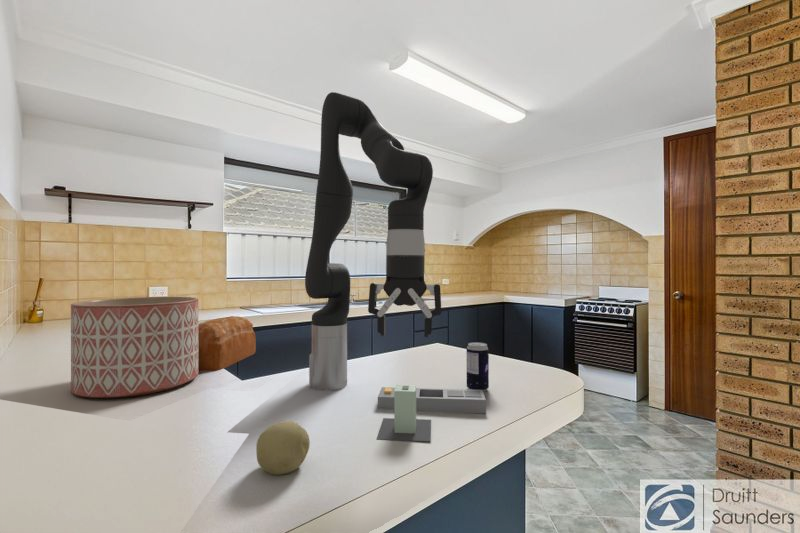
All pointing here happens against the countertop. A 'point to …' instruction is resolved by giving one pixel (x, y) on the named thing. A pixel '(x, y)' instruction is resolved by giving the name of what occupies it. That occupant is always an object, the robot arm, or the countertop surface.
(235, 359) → the bread
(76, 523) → the countertop surface
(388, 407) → the strip
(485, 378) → the beverage can
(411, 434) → the mat
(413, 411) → the block
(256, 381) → the countertop surface
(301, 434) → the potato
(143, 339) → the planter
